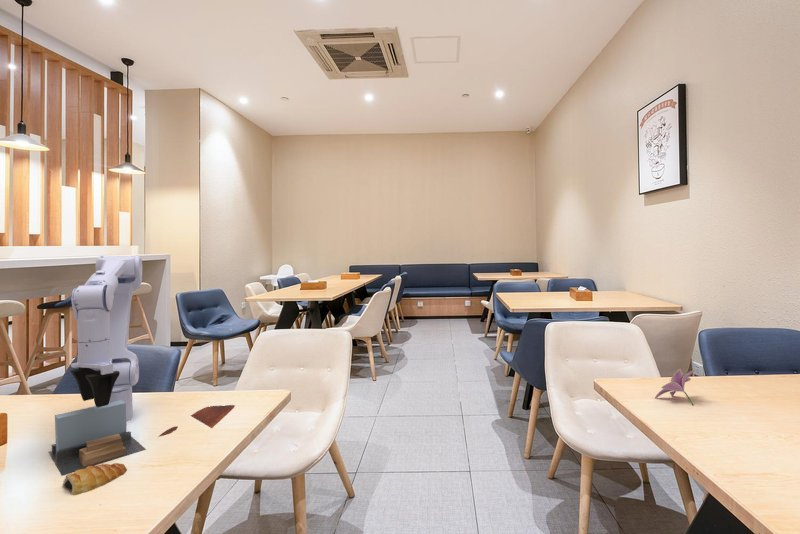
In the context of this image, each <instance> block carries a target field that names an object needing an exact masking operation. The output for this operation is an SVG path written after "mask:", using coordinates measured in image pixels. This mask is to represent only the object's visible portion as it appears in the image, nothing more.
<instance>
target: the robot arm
mask: <svg viewBox="0 0 800 534" xmlns="http://www.w3.org/2000/svg"><path fill="white" fill-rule="evenodd" d="M94 267H95V268H94V269H95V272H94V273H92V274H91V275H90V277H88V279H87V281H86V282H85V283H84V284H83V285H78V286H77V287H74V288H73V289H72V292H71V307H72V311H73V318H74V321H76V339H77V342H76V343H77V360H76V361H77V362H73V363H70V368H73V369H70V373H71V375H72V376H73V377H74V380H75V381H76V383H77V385H78V389H79V392H80V396H81V399H82V401H83V402H85V401H91V400H93V401H94V406H96V407H102V406H106V405H108V404H109V403H112V402H116V401H120V400H122V401H124V402H125V403H126V423H127V422H128V421H130V420H132V419H133V418H134V416H133V415H134V414H133V412H134V411H133V386H135V385H136V384H137V383H138V382H139V379H140V366H139V358H138V355H137V354H136V353H134V352H133V351H131V350H129V349H128V345H129V331H130V320H131V311H132V310H131V307H132V299H133V295H134V292H135V291H136V290H138V289H140V288H141V287H142V286H141V285H142V282H143V281H142V280H143V259H142V257H140V256H139V255H135V256H134V255H129V256H128V255H126V256H125V255H124V256H123V255H121V256H120V255H117V256H116V255H115V256H114V255H113V256H111V255H110V256H103V255H99V256H98V257H97V258H96V260H95V266H94Z"/></svg>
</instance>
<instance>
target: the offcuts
mask: <svg viewBox="0 0 800 534" xmlns="http://www.w3.org/2000/svg"><path fill="white" fill-rule="evenodd" d="M124 454H126V450H125V447H124V446H123V442H122V438H121V436H120V435H119V434H115V435H111V436H107V437H103V438H99V439H95V440H91V441H87V442H86V448H83V449H80V450H79V461H80V462H81V464H82V465H83V466H84V467H85V466H88V465H91V464H95V463H98V462H101V461H104V460H108V459H111V458H114V457H117V456H120V455H124Z"/></svg>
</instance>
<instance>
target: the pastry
mask: <svg viewBox="0 0 800 534" xmlns="http://www.w3.org/2000/svg"><path fill="white" fill-rule="evenodd" d="M127 470H128V469H127V467H126V466H125V464H124V463H118V462H115V463H114V462H113V463H111V464H109V463H102V464H99V465H95V466H88V467H86V469H80V470H76V471H75V472H73V473H70V474H67V475H65V478H64V479H63V482H62V488H64V489H67V490H72V491H71V492H70V493H71V494H70V495H71V496H77V495H80V494H83V493H84V494H85V493H88V492H91V491H94V490H96V489H98V488H100V487H102V486H104V485H108V484H109V483H110V482H113V481H114V480H116V479H118V478H119V477H121V476H123V475H125V473H126V472H127Z"/></svg>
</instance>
